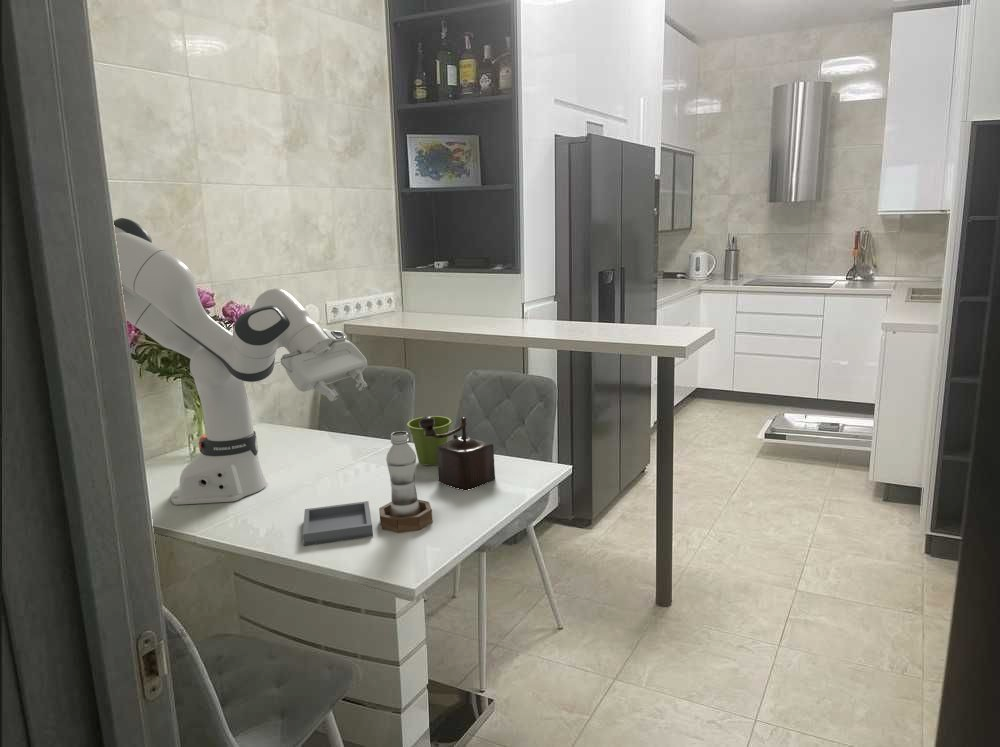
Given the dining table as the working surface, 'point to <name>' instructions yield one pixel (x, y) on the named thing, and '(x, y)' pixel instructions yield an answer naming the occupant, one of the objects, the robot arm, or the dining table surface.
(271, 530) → the dining table surface
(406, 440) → the plastic bottle
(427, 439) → the plant pot
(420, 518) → the walnut collar
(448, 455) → the manual coffee grinder
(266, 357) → the robot arm
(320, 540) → the charcoal tray
